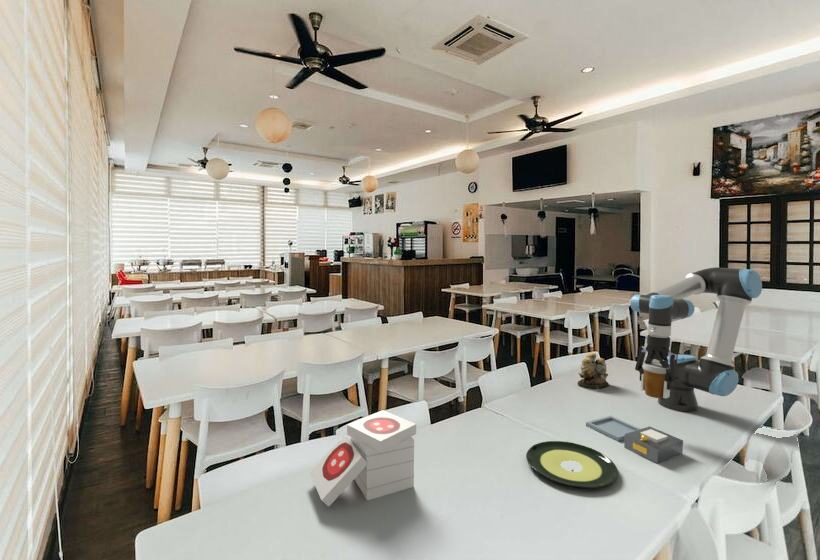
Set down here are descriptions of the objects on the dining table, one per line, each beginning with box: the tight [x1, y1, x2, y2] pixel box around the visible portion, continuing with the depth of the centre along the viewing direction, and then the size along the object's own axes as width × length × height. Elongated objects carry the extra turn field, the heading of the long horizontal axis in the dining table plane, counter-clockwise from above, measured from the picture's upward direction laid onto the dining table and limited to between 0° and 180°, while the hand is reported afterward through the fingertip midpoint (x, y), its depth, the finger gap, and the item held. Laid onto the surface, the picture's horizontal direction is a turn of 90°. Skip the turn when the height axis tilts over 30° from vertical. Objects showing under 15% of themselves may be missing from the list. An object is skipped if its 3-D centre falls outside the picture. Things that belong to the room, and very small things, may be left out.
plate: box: [525, 440, 619, 489], centre depth 132 cm, size 28×28×2 cm
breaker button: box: [640, 429, 668, 443], centre depth 143 cm, size 6×6×6 cm
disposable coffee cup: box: [642, 361, 671, 399], centre depth 155 cm, size 10×10×12 cm
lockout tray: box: [585, 415, 641, 442], centre depth 159 cm, size 14×14×2 cm
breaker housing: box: [623, 426, 684, 464], centre depth 143 cm, size 14×12×7 cm
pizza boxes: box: [308, 409, 417, 507], centre depth 121 cm, size 19×30×18 cm, turn 116°
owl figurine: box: [577, 352, 610, 390], centre depth 209 cm, size 18×12×17 cm, turn 114°
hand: (654, 393), depth 156 cm, fingers closed on disposable coffee cup, 8 cm apart
